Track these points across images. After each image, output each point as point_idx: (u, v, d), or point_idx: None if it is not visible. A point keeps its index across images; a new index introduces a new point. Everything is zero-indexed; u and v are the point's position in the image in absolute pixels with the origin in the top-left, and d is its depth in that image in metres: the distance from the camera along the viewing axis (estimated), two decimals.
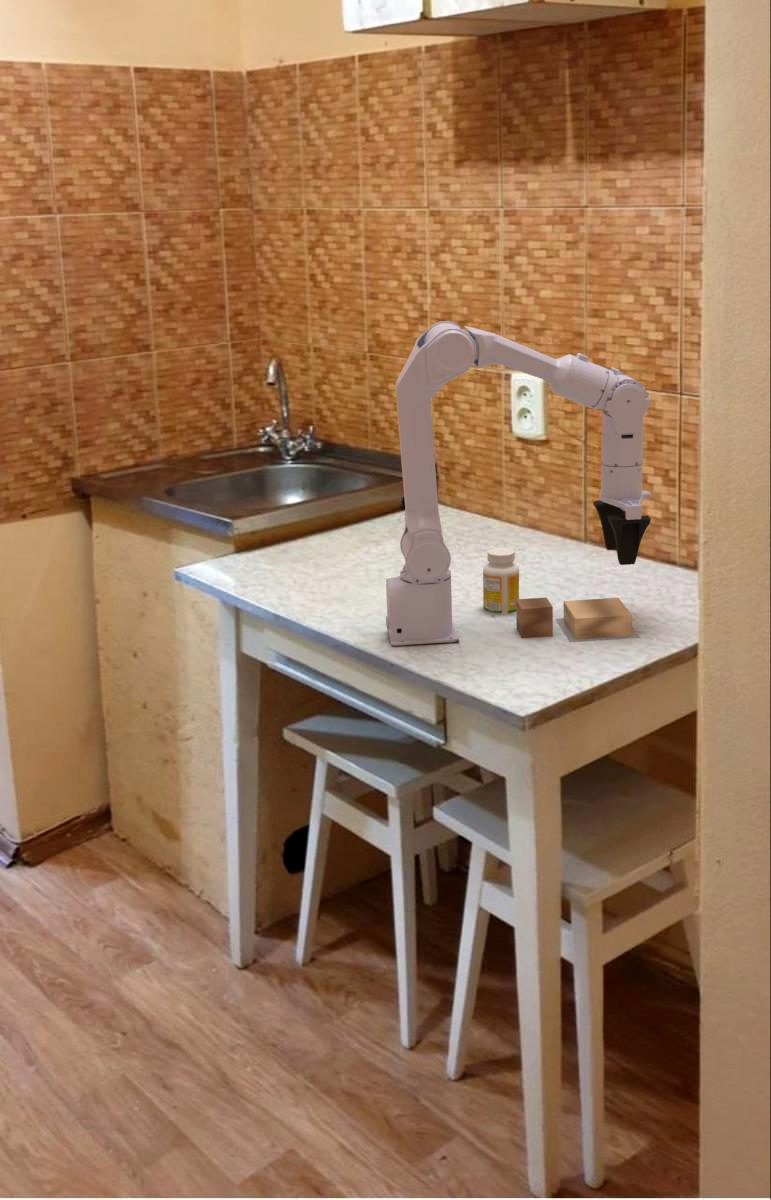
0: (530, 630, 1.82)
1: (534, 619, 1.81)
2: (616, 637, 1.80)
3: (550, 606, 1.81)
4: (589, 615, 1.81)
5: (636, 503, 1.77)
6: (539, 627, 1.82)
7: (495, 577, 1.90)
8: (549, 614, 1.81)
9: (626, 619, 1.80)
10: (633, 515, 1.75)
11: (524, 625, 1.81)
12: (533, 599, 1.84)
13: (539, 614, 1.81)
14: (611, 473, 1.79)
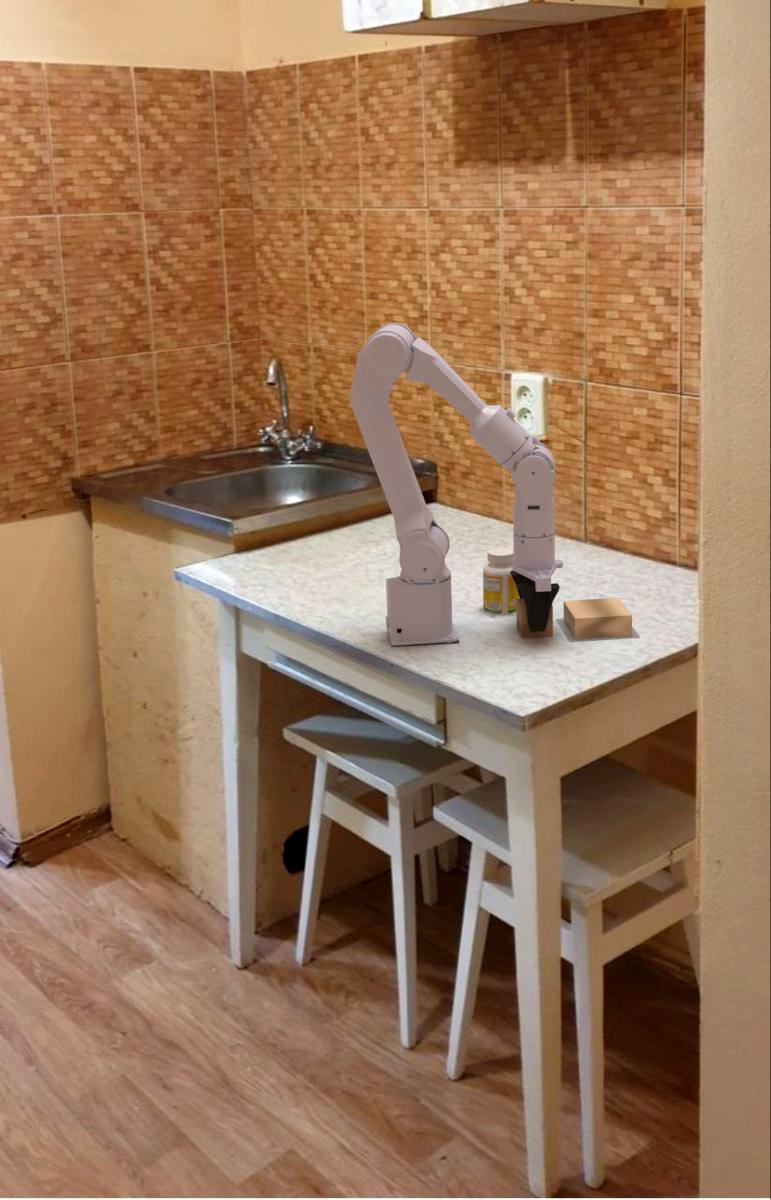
0: None
1: None
2: (616, 637, 1.80)
3: None
4: (589, 615, 1.81)
5: (547, 574, 1.77)
6: None
7: (495, 577, 1.90)
8: (549, 614, 1.81)
9: (626, 619, 1.80)
10: (543, 587, 1.74)
11: (524, 624, 1.81)
12: None
13: None
14: (522, 543, 1.78)
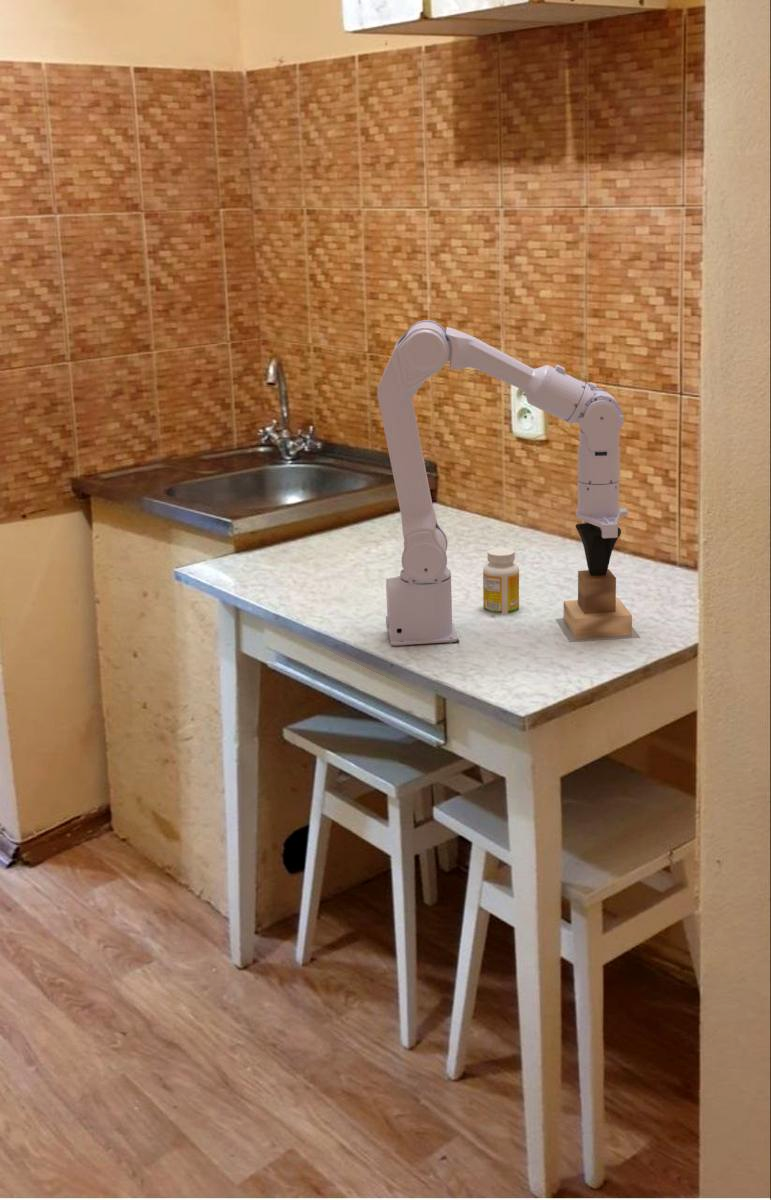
0: (593, 601, 1.81)
1: (597, 590, 1.81)
2: (616, 637, 1.80)
3: (613, 577, 1.80)
4: (589, 615, 1.81)
5: (613, 521, 1.75)
6: (602, 598, 1.81)
7: (495, 577, 1.90)
8: (612, 585, 1.80)
9: (626, 619, 1.80)
10: (609, 533, 1.73)
11: (587, 596, 1.81)
12: None
13: (603, 585, 1.80)
14: (587, 491, 1.76)
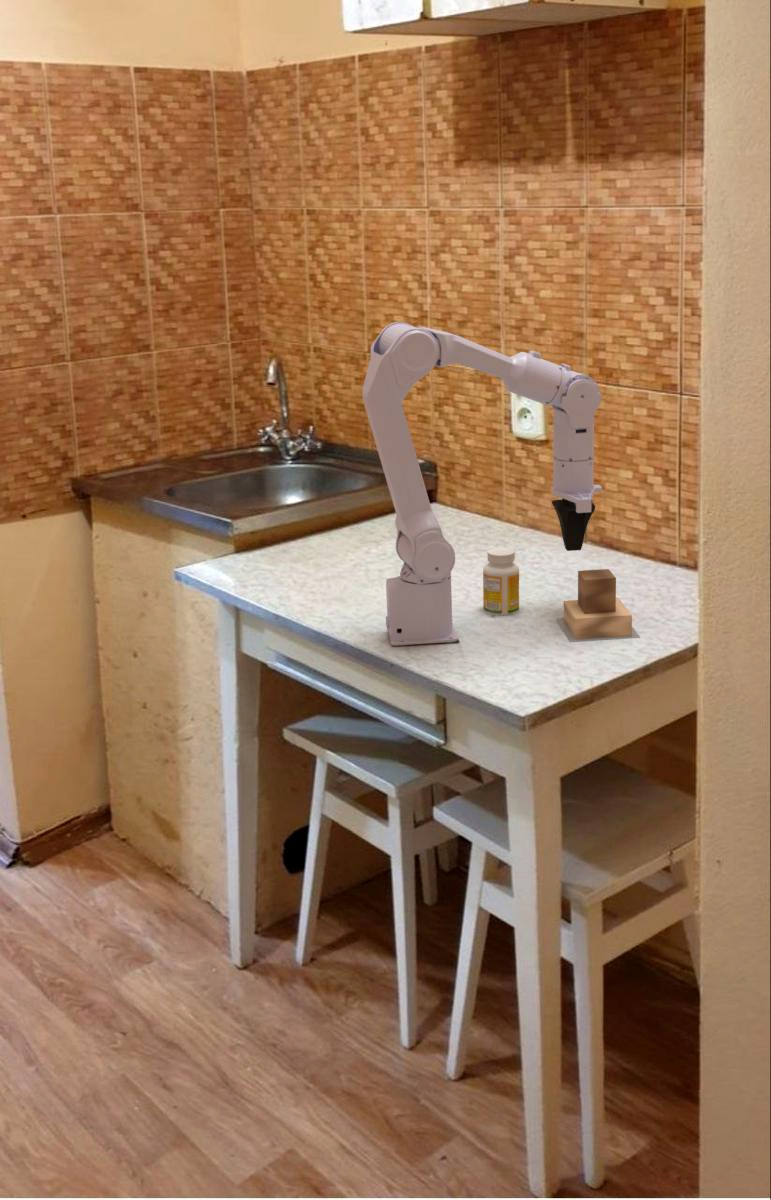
0: (593, 601, 1.81)
1: (597, 590, 1.81)
2: (616, 637, 1.80)
3: (613, 577, 1.80)
4: (589, 615, 1.81)
5: (587, 497, 1.81)
6: (602, 598, 1.81)
7: (495, 577, 1.90)
8: (612, 585, 1.80)
9: (626, 619, 1.80)
10: (583, 508, 1.79)
11: (587, 596, 1.81)
12: (595, 570, 1.84)
13: (603, 585, 1.80)
14: (562, 467, 1.82)
